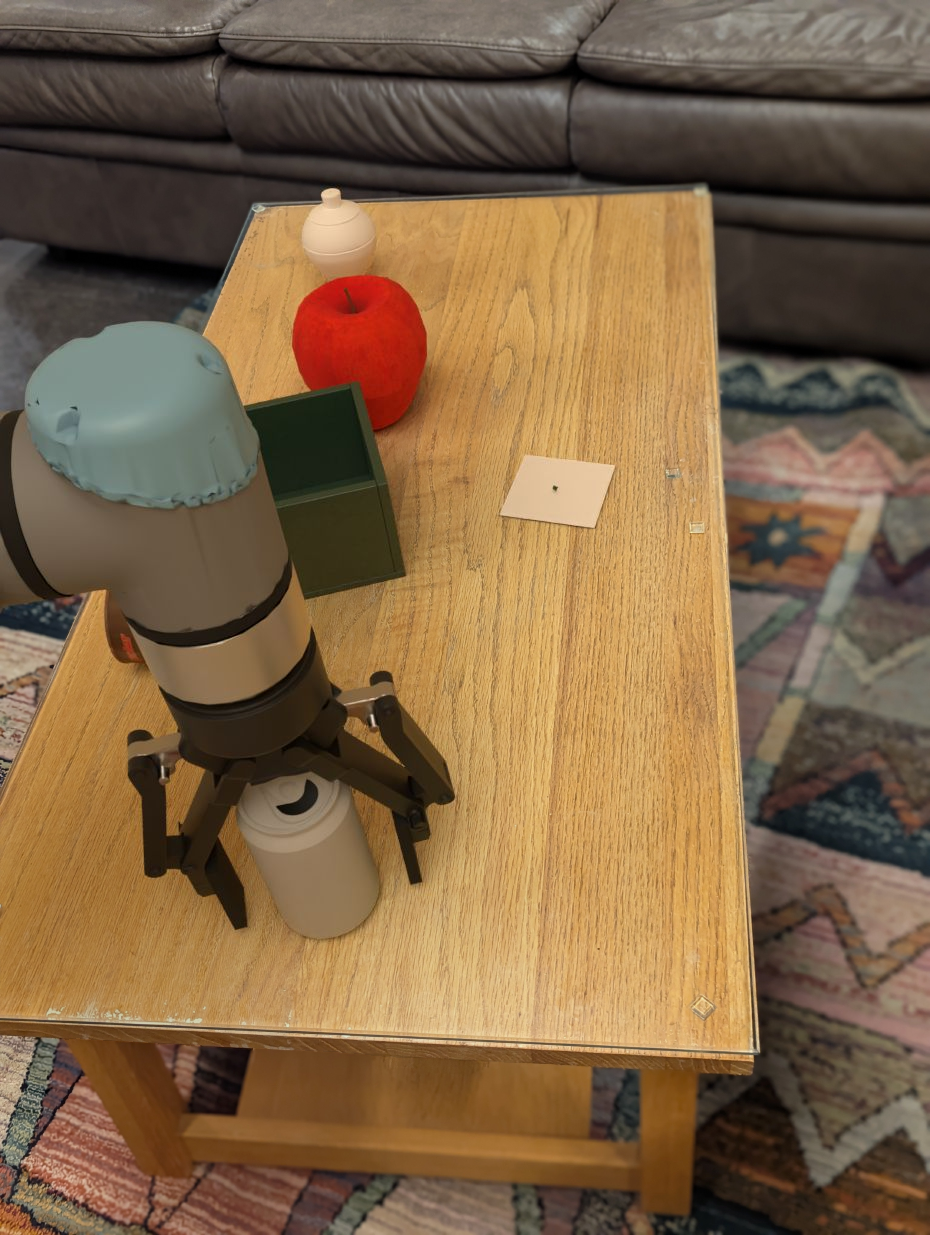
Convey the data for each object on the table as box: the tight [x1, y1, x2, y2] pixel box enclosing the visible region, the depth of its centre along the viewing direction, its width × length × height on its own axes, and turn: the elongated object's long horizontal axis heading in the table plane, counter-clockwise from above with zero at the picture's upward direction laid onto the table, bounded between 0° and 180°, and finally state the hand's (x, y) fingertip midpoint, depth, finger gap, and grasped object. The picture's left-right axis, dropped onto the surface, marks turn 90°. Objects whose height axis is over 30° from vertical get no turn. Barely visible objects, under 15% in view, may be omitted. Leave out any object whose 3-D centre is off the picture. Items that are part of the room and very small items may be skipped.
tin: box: [103, 590, 147, 665], centre depth 82 cm, size 15×3×8 cm, turn 174°
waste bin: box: [243, 381, 407, 600], centre depth 86 cm, size 14×14×10 cm
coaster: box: [498, 454, 616, 529], centre depth 90 cm, size 8×8×1 cm
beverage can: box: [235, 771, 380, 940], centre depth 62 cm, size 6×6×12 cm
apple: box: [291, 274, 428, 431], centre depth 95 cm, size 12×12×13 cm
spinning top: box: [300, 188, 378, 282], centre depth 110 cm, size 8×8×12 cm
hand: (326, 886), depth 66 cm, fingers open, 10 cm apart
